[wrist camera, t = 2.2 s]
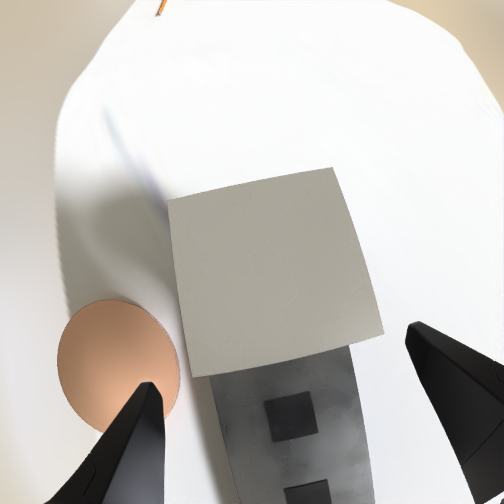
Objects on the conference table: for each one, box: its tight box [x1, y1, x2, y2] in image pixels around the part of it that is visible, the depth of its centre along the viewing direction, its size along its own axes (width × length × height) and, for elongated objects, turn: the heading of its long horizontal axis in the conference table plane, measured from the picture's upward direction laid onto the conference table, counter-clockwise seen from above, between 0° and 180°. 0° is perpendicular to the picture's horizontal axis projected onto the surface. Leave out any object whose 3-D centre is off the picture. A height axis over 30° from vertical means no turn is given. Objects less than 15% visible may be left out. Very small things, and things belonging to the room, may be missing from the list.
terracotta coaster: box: [57, 300, 180, 433], centre depth 18 cm, size 10×10×1 cm
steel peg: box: [167, 167, 384, 378], centre depth 13 cm, size 4×4×14 cm
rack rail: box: [209, 345, 375, 504], centre depth 16 cm, size 20×8×3 cm, turn 12°
